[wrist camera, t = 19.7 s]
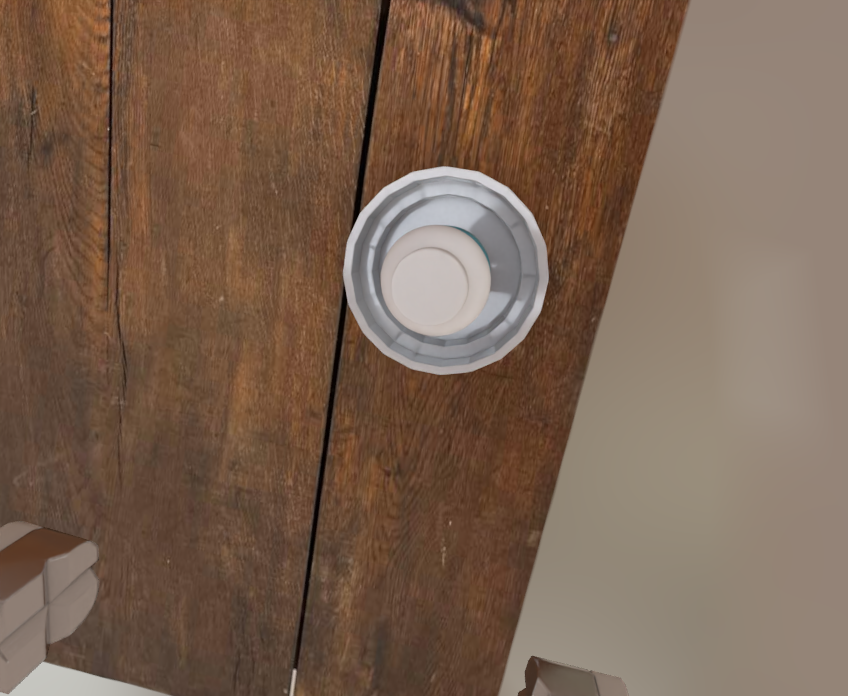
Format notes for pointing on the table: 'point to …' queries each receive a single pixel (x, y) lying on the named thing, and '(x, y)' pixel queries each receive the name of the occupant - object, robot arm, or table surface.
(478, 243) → the pill bottle
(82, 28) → the table surface
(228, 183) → the table surface
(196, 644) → the table surface
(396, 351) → the faceted round dish
